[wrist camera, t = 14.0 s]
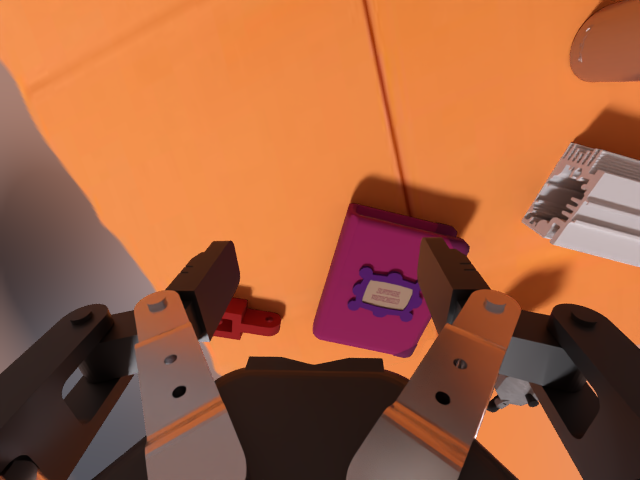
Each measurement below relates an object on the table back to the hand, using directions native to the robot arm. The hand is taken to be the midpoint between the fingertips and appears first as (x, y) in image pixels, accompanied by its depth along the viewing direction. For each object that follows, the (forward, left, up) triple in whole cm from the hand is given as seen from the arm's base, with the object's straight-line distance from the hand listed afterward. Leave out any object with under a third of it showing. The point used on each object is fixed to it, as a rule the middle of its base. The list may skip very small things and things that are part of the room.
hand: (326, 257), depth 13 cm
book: (-9, +28, -40) cm, 50 cm away
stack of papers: (-51, +14, -40) cm, 66 cm away
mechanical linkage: (+20, +37, -40) cm, 58 cm away
